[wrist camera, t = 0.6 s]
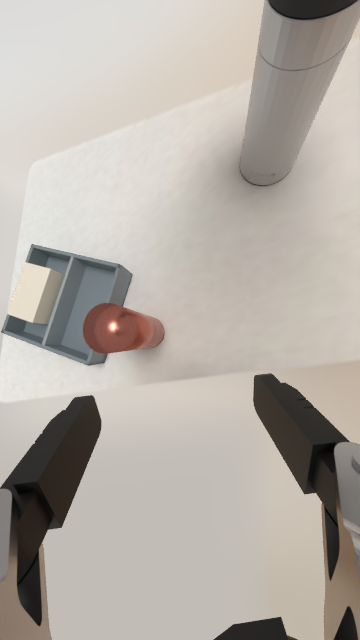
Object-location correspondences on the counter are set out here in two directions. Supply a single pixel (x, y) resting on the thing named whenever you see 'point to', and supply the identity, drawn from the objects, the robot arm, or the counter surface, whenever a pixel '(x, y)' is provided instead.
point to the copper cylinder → (120, 329)
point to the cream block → (36, 294)
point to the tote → (72, 303)
